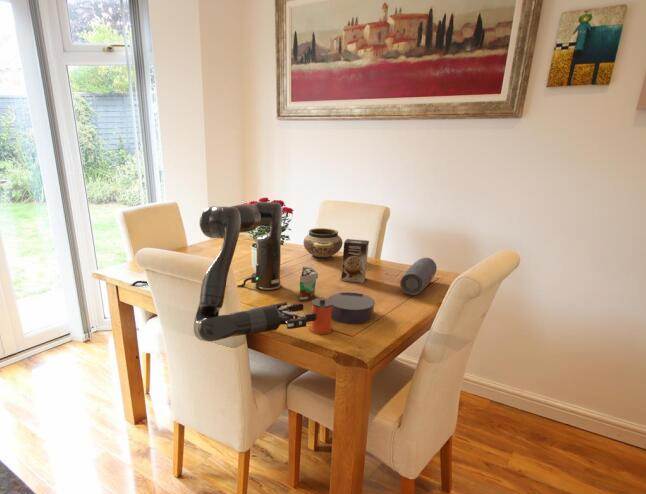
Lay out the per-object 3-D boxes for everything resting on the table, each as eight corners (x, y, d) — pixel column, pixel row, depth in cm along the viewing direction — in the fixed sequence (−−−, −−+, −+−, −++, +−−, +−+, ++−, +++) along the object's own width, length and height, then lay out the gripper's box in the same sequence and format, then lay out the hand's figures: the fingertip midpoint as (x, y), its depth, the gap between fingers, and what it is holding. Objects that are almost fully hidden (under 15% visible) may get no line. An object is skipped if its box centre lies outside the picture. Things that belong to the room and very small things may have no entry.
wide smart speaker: (328, 322, 150) (328, 308, 148) (326, 304, 164) (327, 291, 162) (376, 324, 148) (377, 310, 146) (370, 306, 162) (372, 293, 160)
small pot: (307, 331, 145) (308, 301, 141) (315, 323, 150) (316, 294, 146) (327, 335, 142) (328, 304, 138) (334, 327, 147) (336, 297, 143)
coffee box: (340, 280, 187) (343, 242, 181) (343, 275, 193) (346, 238, 187) (363, 283, 184) (366, 244, 178) (365, 278, 190) (369, 239, 183)
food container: (316, 303, 166) (317, 277, 162) (299, 302, 167) (300, 276, 163) (317, 291, 177) (319, 266, 173) (301, 290, 178) (302, 266, 174)
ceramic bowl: (334, 272, 206) (344, 240, 200) (296, 260, 208) (305, 229, 202) (337, 256, 228) (346, 228, 221) (302, 246, 230) (311, 218, 224)
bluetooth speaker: (423, 300, 166) (427, 274, 162) (397, 295, 171) (400, 270, 167) (436, 281, 183) (440, 257, 180) (412, 278, 188) (415, 254, 184)
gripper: (270, 317, 129) (321, 308, 134) (251, 300, 141) (299, 292, 146) (270, 341, 132) (320, 331, 137) (252, 322, 144) (298, 314, 149)
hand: (309, 311), depth 142 cm, fingers open, 8 cm apart
